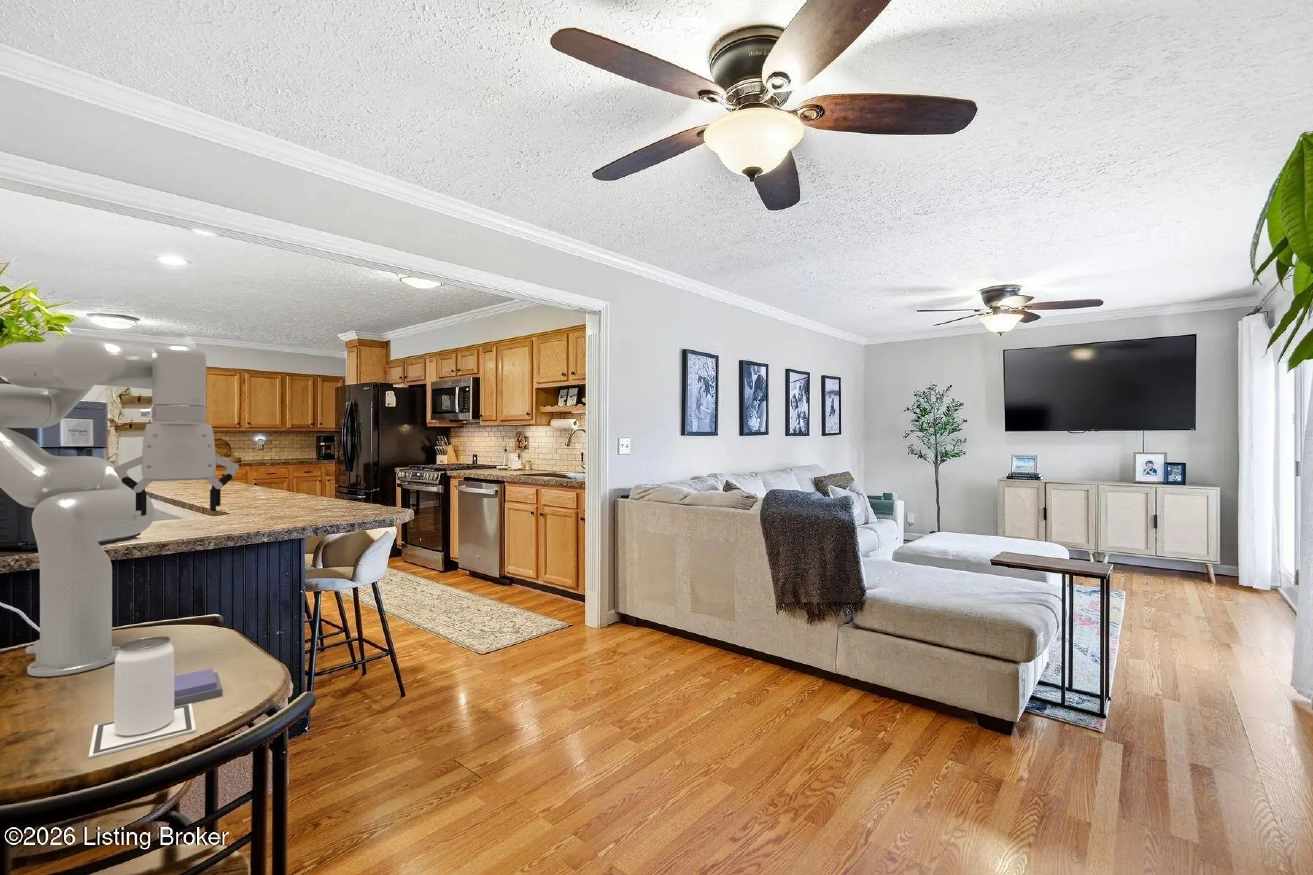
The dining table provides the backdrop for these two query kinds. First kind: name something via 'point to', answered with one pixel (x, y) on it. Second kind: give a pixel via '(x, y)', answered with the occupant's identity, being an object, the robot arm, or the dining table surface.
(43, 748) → the dining table surface
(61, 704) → the dining table surface
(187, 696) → the ink pad
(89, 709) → the dining table surface
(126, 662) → the can
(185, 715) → the marked card
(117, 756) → the dining table surface
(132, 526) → the robot arm
